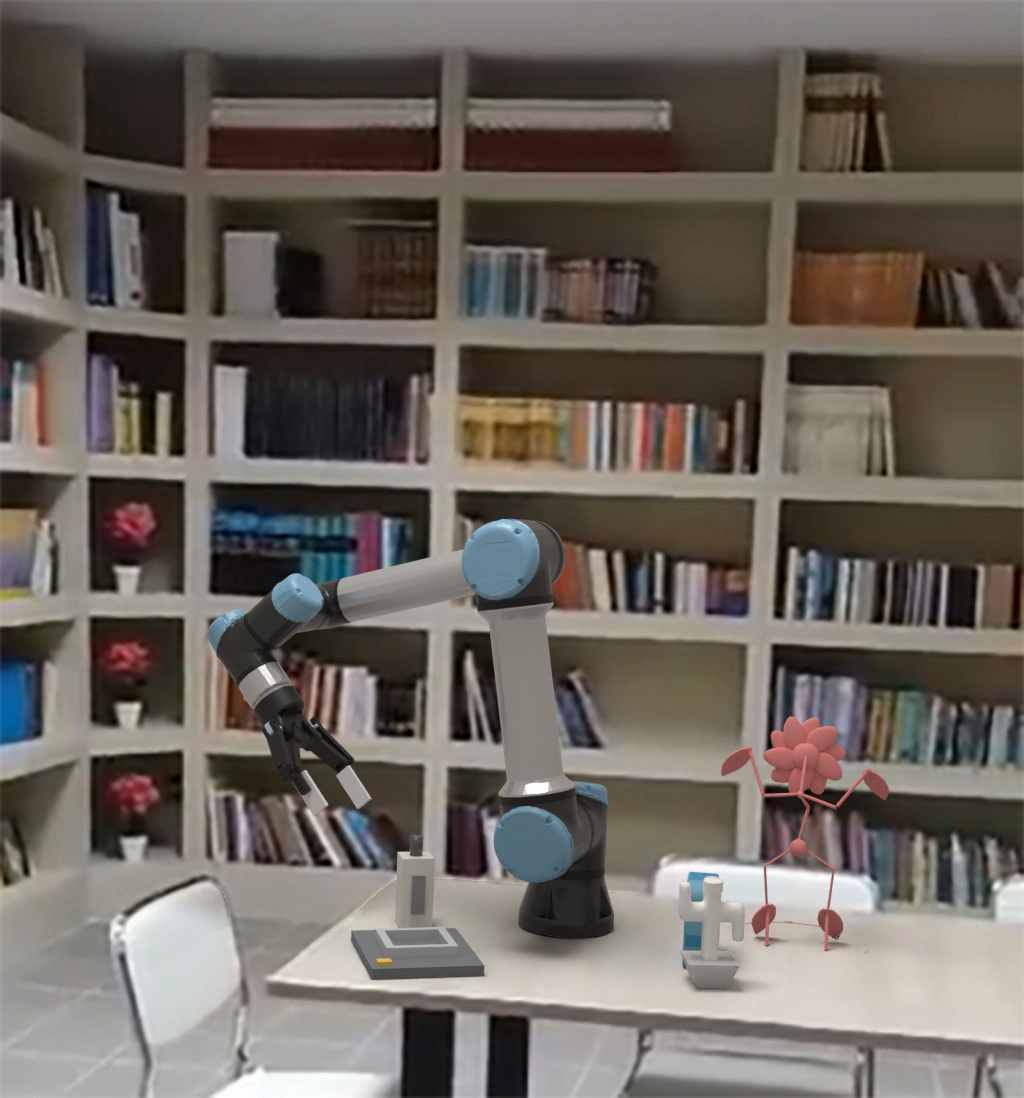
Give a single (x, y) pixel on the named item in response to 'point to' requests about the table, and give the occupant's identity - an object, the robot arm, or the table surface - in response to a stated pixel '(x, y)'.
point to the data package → (694, 929)
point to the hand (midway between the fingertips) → (343, 807)
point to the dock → (416, 953)
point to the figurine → (711, 934)
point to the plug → (414, 886)
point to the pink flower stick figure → (803, 764)
